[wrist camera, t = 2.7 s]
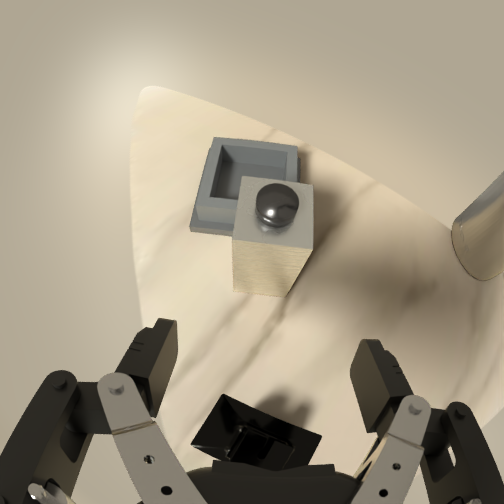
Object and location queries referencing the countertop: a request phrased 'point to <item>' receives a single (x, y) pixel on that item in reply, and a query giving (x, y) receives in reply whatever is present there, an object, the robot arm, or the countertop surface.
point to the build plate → (254, 437)
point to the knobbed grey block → (271, 235)
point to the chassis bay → (237, 179)
